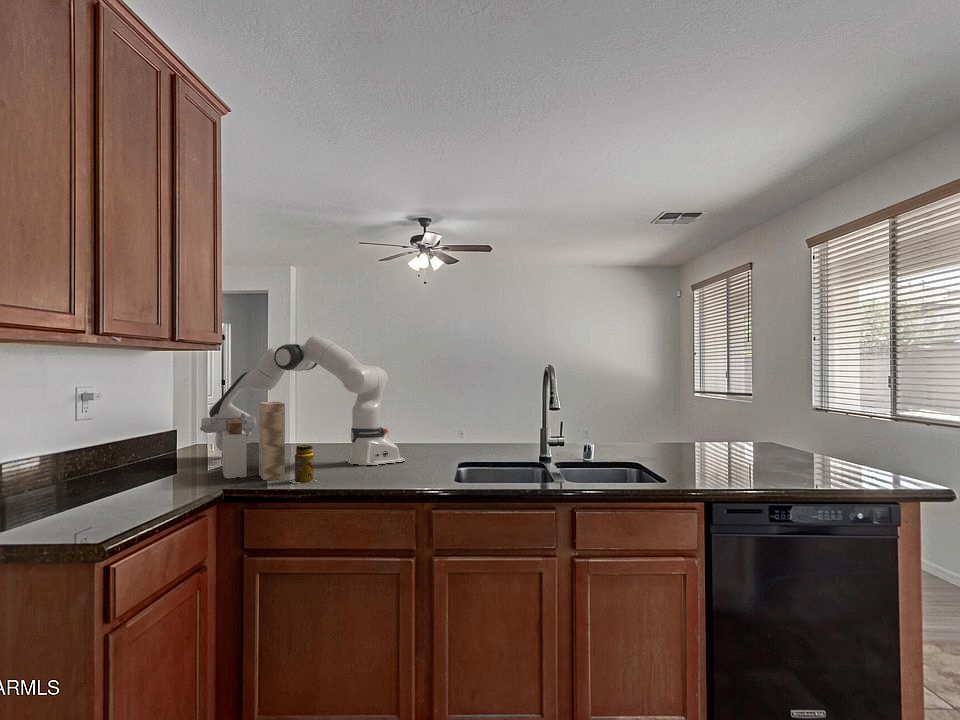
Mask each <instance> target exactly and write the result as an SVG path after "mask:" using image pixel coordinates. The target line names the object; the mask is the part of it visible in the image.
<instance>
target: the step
mask: <svg viewBox="0 0 960 720" xmlns="http://www.w3.org/2000/svg"><path fill="white" fill-rule="evenodd" d="M247 438H248V437H247V434H246V433H245V432H244V431H243V430H242V434H235V435H229V433H228V432H227V431H223V451H222V471H223V472H222V475H223V474H224V475H223V477H225V478H227V479H237V478H236V477H240V478H247V460H248V459H247V456H248V455H247V450H248V449H247V445H248V444H247V442H248V441H247ZM225 478H224V479H225Z"/></svg>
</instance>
